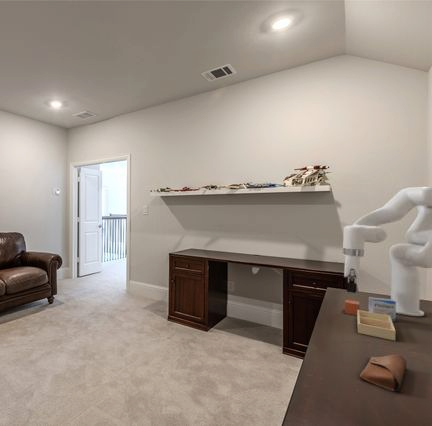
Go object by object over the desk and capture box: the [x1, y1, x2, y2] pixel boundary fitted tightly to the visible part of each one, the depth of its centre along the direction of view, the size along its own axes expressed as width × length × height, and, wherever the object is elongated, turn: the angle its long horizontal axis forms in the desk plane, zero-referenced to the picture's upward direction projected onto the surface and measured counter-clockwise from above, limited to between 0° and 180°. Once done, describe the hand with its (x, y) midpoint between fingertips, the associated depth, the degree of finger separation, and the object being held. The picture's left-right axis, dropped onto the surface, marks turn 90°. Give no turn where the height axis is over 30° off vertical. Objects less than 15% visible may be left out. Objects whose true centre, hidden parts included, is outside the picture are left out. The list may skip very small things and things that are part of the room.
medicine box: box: [368, 296, 397, 323], centre depth 129 cm, size 8×4×9 cm, turn 68°
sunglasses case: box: [359, 354, 407, 392], centre depth 85 cm, size 18×7×7 cm
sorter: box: [356, 309, 396, 342], centre depth 119 cm, size 20×10×4 cm, turn 141°
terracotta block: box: [344, 299, 360, 316], centre depth 136 cm, size 5×5×5 cm
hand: (351, 290), depth 136 cm, fingers open, 9 cm apart
